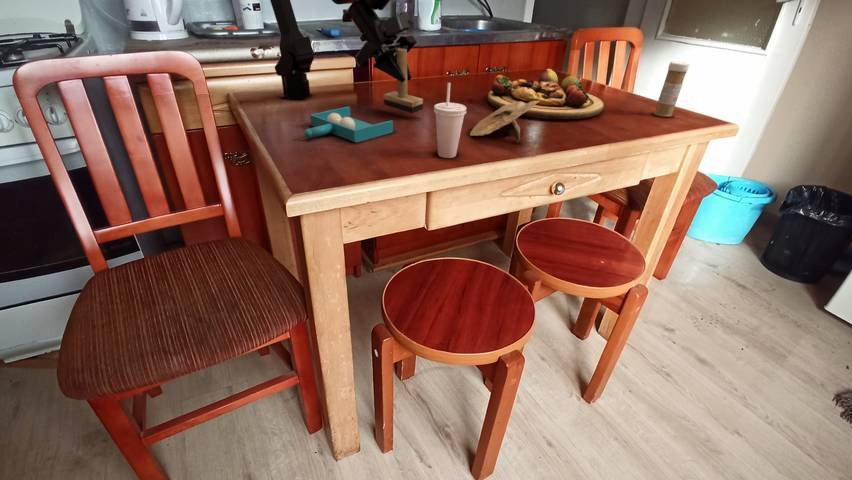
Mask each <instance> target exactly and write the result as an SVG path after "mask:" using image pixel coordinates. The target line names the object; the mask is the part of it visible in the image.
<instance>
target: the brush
mask: <svg viewBox="0 0 852 480" xmlns="http://www.w3.org/2000/svg"><path fill="white" fill-rule="evenodd" d="M397 64H398V66H399V68H400V70H401V71H402V73H403V75H404V77H405V81H404V82H400V81H399V80H397V91H396V90H394V91H390V92H387V93H384V94H383V105H384V106H387V107H390V108H394V109H397V110H400V111H403V112H407V113H410V114H414V113H416V112H419V111H423V109H424V98H421V97H418V96H414V95H410V94H409V93H408V91H409V90H408V89H409V88H408V80H407V64H408V53H407V49H397Z"/></svg>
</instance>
